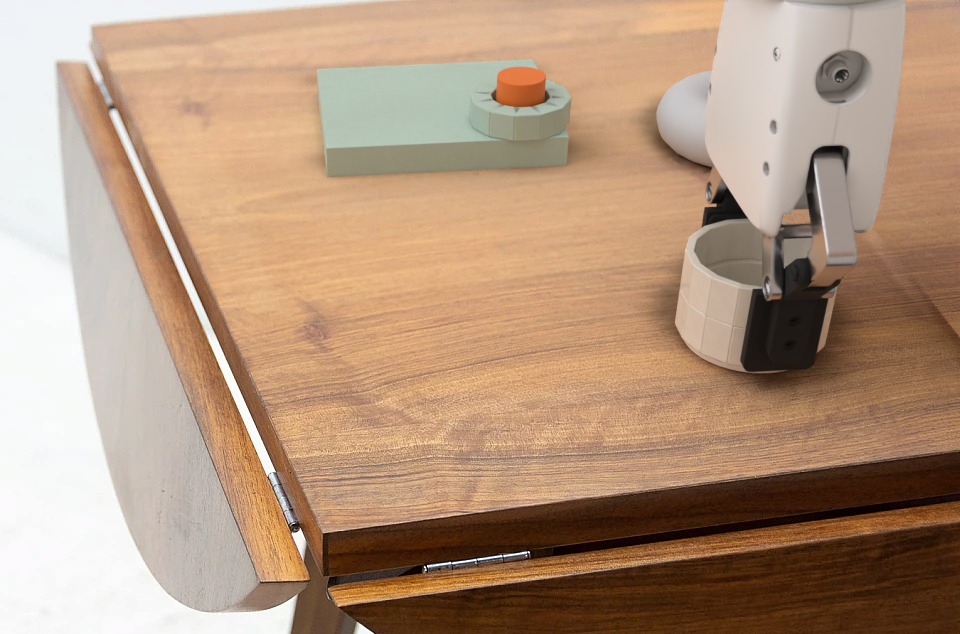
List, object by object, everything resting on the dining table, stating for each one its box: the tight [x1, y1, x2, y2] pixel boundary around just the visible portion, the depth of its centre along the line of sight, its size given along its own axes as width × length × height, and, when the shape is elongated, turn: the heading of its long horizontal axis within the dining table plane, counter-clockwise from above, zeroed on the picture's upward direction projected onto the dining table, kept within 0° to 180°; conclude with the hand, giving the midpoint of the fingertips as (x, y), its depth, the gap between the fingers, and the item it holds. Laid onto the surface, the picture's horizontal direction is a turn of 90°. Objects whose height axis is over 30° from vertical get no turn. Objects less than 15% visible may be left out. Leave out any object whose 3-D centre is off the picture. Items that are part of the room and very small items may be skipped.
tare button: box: [496, 67, 547, 107], centre depth 80 cm, size 3×3×2 cm
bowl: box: [674, 219, 839, 374], centre depth 64 cm, size 7×7×4 cm
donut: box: [655, 69, 714, 168], centre depth 81 cm, size 10×4×10 cm
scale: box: [316, 58, 572, 178], centre depth 84 cm, size 14×12×4 cm
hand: (751, 319), depth 65 cm, fingers closed on bowl, 6 cm apart
